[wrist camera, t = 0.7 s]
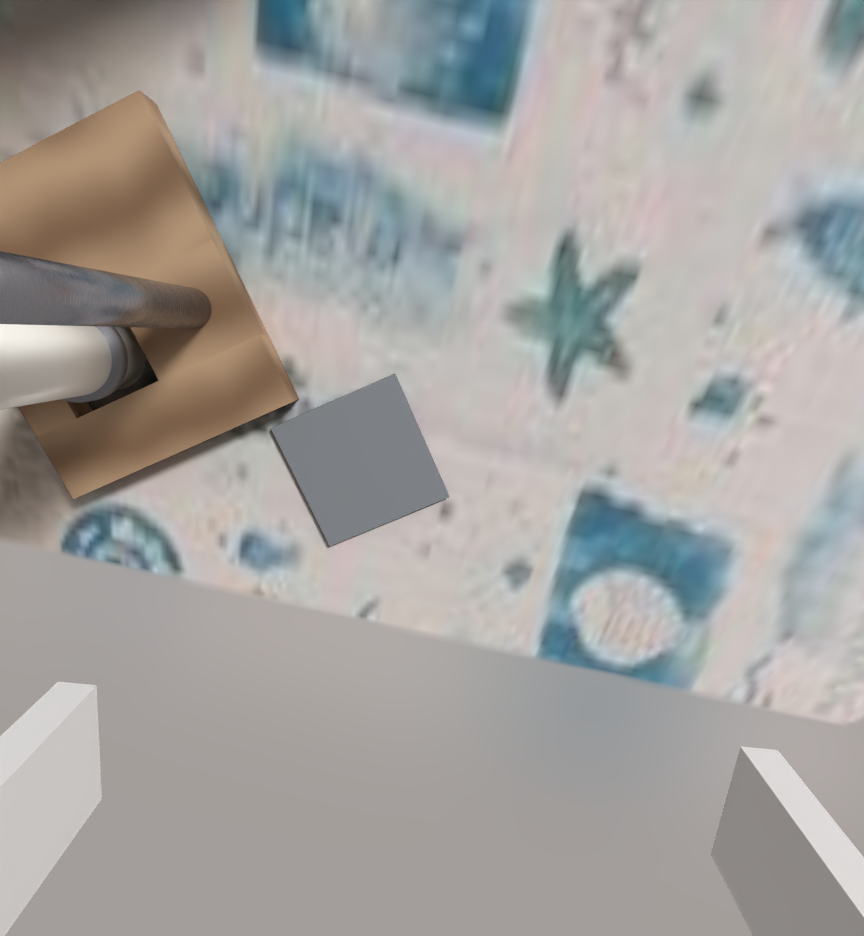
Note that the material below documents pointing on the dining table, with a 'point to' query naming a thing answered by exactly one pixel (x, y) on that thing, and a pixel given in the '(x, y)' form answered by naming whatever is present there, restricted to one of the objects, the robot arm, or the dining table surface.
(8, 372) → the plug
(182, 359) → the socket board
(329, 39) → the dining table surface
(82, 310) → the post
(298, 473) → the mat
